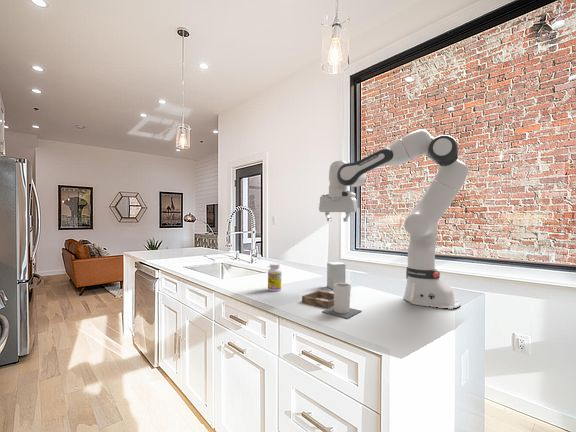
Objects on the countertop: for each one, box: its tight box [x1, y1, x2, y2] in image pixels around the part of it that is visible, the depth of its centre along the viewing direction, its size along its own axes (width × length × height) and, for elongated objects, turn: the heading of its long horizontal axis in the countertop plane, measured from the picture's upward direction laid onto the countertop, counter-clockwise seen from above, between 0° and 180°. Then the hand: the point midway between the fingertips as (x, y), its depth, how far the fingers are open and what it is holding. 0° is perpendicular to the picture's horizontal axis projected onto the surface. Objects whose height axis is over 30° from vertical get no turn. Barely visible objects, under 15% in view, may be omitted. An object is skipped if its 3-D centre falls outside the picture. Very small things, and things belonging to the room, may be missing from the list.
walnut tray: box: [301, 290, 334, 309], centre depth 131 cm, size 13×13×2 cm
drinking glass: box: [333, 282, 352, 313], centre depth 117 cm, size 7×7×10 cm
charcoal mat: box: [321, 306, 362, 320], centre depth 117 cm, size 11×11×1 cm
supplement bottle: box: [267, 262, 282, 292], centre depth 150 cm, size 7×7×13 cm
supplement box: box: [326, 261, 346, 290], centre depth 156 cm, size 7×7×13 cm
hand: (337, 221), depth 153 cm, fingers open, 8 cm apart
